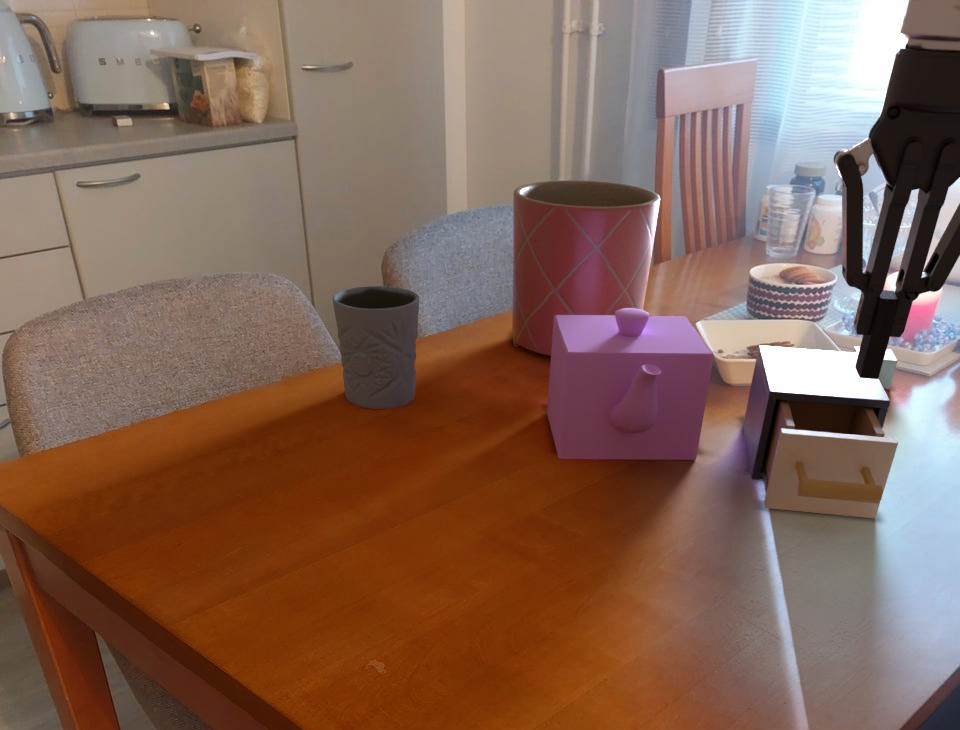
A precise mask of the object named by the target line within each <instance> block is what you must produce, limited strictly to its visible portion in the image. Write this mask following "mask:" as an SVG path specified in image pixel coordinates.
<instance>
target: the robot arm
mask: <svg viewBox="0 0 960 730" xmlns="http://www.w3.org/2000/svg"><path fill="white" fill-rule="evenodd" d="M905 8H906V9H905V12H904V16H903V21H902V23H901V28H900V35H901V37H902V38H906V43H905V46H901V47H900V48H899V49H898V51H896V52H895V54H894V59H893V62H892V66H891V70H890V75H889V78H888V83H887V87H886V92H885V95H884V100H883V103H882V108H881V111H880V114H879V116H878V118H877V120H876V121H875V122H874V123H873V125H872V126H871V128H870V130H869V133H868V137H867V138H865V139H864V140H862V141H861V142H859V143H857V144H856V145H854V146H852V147H850V148H849V149H846V148H845V149H844V148H843V149H838V151H836V152H835V153H834V155H833V164H834V167H835V169H836V171H837V175H838V177H839V179H840V182H841V274H842V277H843V279H844V281H845V283H846V284H847V286H848V287H851V288H855V289H856V290H859V291H860V297H859V301H858V304H857V309H856V312H855V316H854V321H853V328H854V331H855V333H856V335H858V336H862V337H861V342H860V345H859V347H860V349H859V353H858V357H857V361H856V365H855V368H856V370H857V373H858V375H859V377H860V378H869V379H878V378H879V374H880V371H881V367H882V364H883V360H884V356H885V353H886V349H888V345H889V342H890V338H901V337H902V335H903V334H904V332H905V330H906V326H907V323H908V319H909V316H910V313H911V309H912V306H913V302H914V301H916V300H917V299H918V298H919V296H920V295H922V294H924V293H929V292H931V293H935V292H938V291H940V290H941V289H942V288H943V287H944V285H945V283H946V281H947V279H948V278H949V276H950V275H951V272H952V270H953V269H954V267H955V265H956V263H957V262H958V260H959V258H960V203H959V204H958V205H957V207H956V209H955V211H954V212H953V215H952V216H951V218H950V220H949V222H948V224H947V226H946V228H945V229H944V232H943V233H942V235H941V237H940V239H939V241H938V243H937V244H936V247H935V248H934V250H933V252H932V254H931V255H930V258H929V260H928V256H929V252H930V249H931V245H932V241H933V237H934V234H935V231H936V227H937V223H938V220H939V217H940V213H941V210H942V208H943V206H944V205H945V202H946V199H947V195H948V191H949V188H950V187H952V185H954V184H955V182H957V181H958V180H959V179H960V0H907V3H906V7H905ZM872 155H873V157H874V159H875V162H876V163H877V167H878V169H879V171H880V173H881V176H882V178H883V180H884V182H886V183H885V187H884V191H883V200H882V204H881V208H880V212H879V216H878V220H877V224H876V228H875V232H874V236H873V239H872V243H871V247H870V251H869V256H868V259H867V263H866V267H865V270H864V269H863V268H864V265H863V263H864V183H863V177H864V175H866V174H867V173H868V171H869V167H870V166H869V165H870V164H869V163H870V162H869V160H870V158H871V156H872ZM862 176H863V177H862ZM916 190H918V193H917V202H916V207H915V210H914V214H913V216H912V217H913V218H912V221H911V223H910V224H911V225H910V228H909V231H908V236H907V238H906V239H907V240H906V243H905V247H904V251H903V254H902V258H901V262H900V265H899V269H898V274H897V277H896V280H895V290H885V285H886V281H887V278H888V275H889V270H890V267H891V266H890V265H891V263H892V259H893V256H894V251H895V248H896V244H897V240H898V237H899V233H900V229H901V226H902V222H903V218H904V214H905V211H906V207H907V206H908V204H909V201H910V198H911V195H912V191H916ZM927 260H928V261H927Z"/></svg>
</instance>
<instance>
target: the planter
mask: <svg viewBox="0 0 960 730" xmlns="http://www.w3.org/2000/svg"><path fill="white" fill-rule="evenodd" d="M512 201H513V203H512V205H513V209H512V211H513V213H512V312H511V313H512V315H511V317H512V318H511V319H512V321H511V323H512V325H511V326H512V327H511V328H512V341H513V346H514V347H515V348H518V347H519V346H521V347H522V348H524V349H526V350H528V351H531V352H534V353H538V354H541V355H545V356H550V357H551V350H552V336H553V321H554V316H555V315H615V312H616V311H617V310H620V309H624V308H636V309H641V310H644V305H645V299H646V292H647V286H648V281H649V276H650V275H649V274H650V268H651V262H652V258H653V257H652V256H653V250H654V243H655V235H656V231H657V230H656V229H657V222H658V216H659V209H660V203H661V196H660V195H659V194H658V193H656V192H655V191H653V190H650V189H647V188H644V187H640V186H636V185H631V184H626V183H619V182H611V181H610V182H608V181H601V180H600V181H599V180H579V179H578V180H575V179H574V180H572V179H571V180H568V179H567V180H566V179H565V180H548V181H547V180H546V181H538V182H531V183H526V184H522V185H520V186H517V187H515V189H514V190H513V200H512Z"/></svg>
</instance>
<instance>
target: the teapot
mask: <svg viewBox="0 0 960 730" xmlns="http://www.w3.org/2000/svg"><path fill="white" fill-rule="evenodd" d="M714 357H715V355H714V353H713V352H712V351H711V349H710V347H708V345H707V343H706V342H705V341H704V339H703V337H701V335H700V334H699V332H698V331H697V330H696V328H695V327H694V325H693V324H691V322H690V320H689V319H688V317H687V315H685V316H684V315H682V316H681V315H650V313H649V312H648V311H646V310H644V309H643V310H641V309H636V308H624V309H620V310H617V311H616V312H615V315H555V316H554V321H553V336H552V350H551V356H550V365H549V366H550V368H549V381H548V395H547V408H546V409H547V412H546V415H547V418H548V419H547V420H548V422H549V426H550V431H551V434H552V438H553V443H554V445H555V449H556V454H557V457H558V460H649V461H650V460H653V461H655V460H659V461H660V460H665V461H666V460H668V461H669V460H671V461H673V460H675V461H681V460H682V461H685V460H687V461H689V460H690V461H696V460H697V457H698V451H699V446H700V445H699V444H700V439H701V433H702V427H703V423H704V422H703V421H704V417H705V410H706V404H707V399H708V393H709V387H710V381H711V375H712V369H713V364H714Z"/></svg>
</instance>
